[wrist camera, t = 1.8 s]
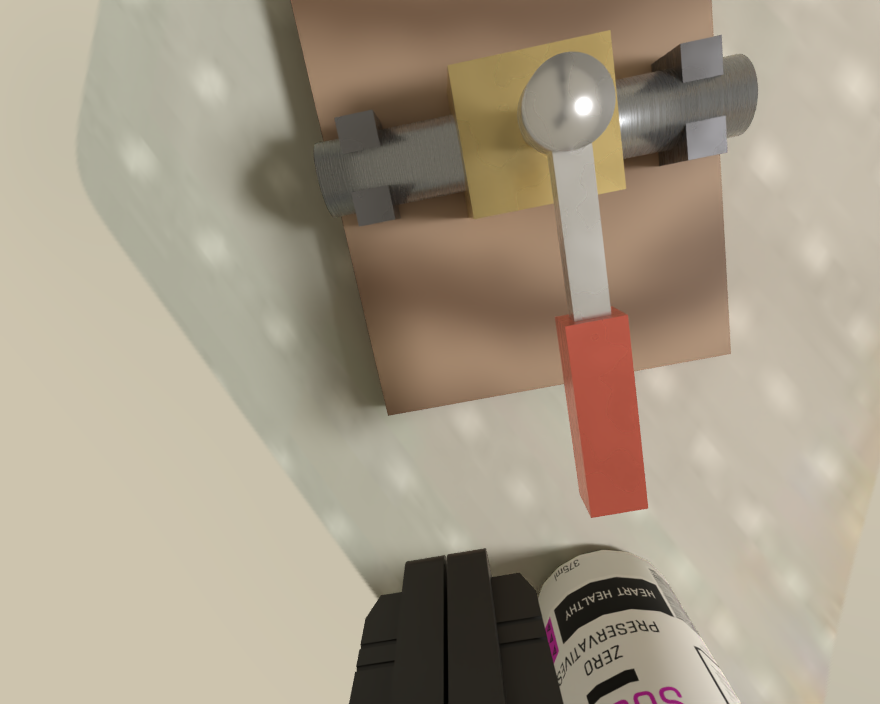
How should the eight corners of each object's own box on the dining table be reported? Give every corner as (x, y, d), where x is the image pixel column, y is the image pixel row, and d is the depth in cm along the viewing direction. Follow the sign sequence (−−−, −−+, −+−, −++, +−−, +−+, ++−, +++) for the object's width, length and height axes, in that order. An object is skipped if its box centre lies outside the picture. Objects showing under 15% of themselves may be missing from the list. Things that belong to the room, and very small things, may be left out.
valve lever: (511, 76, 16) (518, 62, 15) (594, 58, 16) (610, 42, 15) (572, 495, 20) (582, 519, 19) (640, 484, 20) (656, 506, 18)
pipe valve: (323, 124, 25) (262, 79, 17) (702, 43, 24) (842, -49, 16) (350, 241, 27) (307, 254, 18) (710, 169, 26) (842, 147, 17)
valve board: (275, -94, 23) (263, -114, 22) (682, -191, 22) (699, -219, 21) (390, 405, 29) (388, 415, 28) (716, 346, 28) (730, 353, 27)
